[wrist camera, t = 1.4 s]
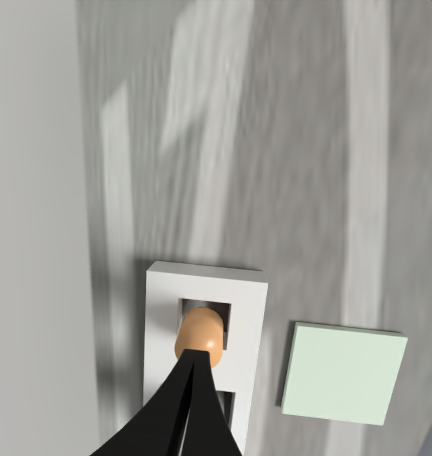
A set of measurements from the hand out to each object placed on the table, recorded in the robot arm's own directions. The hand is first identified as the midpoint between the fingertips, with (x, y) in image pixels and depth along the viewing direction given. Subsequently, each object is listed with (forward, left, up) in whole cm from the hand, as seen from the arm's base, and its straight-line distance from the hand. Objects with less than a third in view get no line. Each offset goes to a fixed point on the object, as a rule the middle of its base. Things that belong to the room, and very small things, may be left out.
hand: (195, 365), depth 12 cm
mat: (+5, -11, -6) cm, 13 cm away
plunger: (0, 0, -3) cm, 3 cm away
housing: (-3, -3, -6) cm, 7 cm away
